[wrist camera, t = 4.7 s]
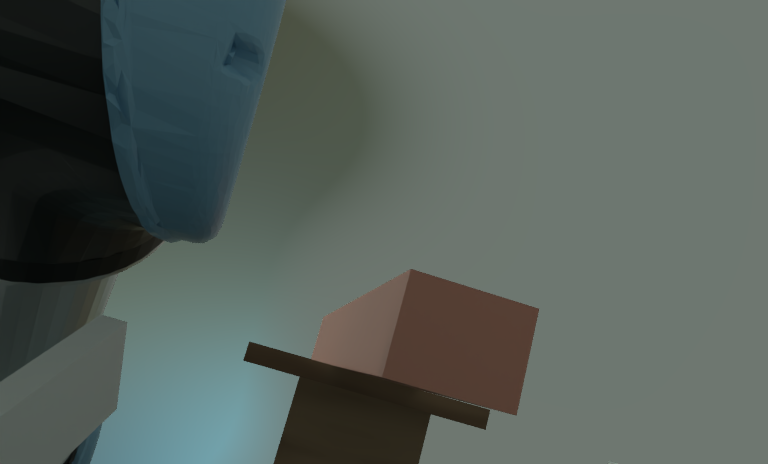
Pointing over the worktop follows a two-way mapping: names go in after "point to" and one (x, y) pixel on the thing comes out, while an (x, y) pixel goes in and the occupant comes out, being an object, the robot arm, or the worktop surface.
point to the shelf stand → (355, 414)
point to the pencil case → (434, 339)
